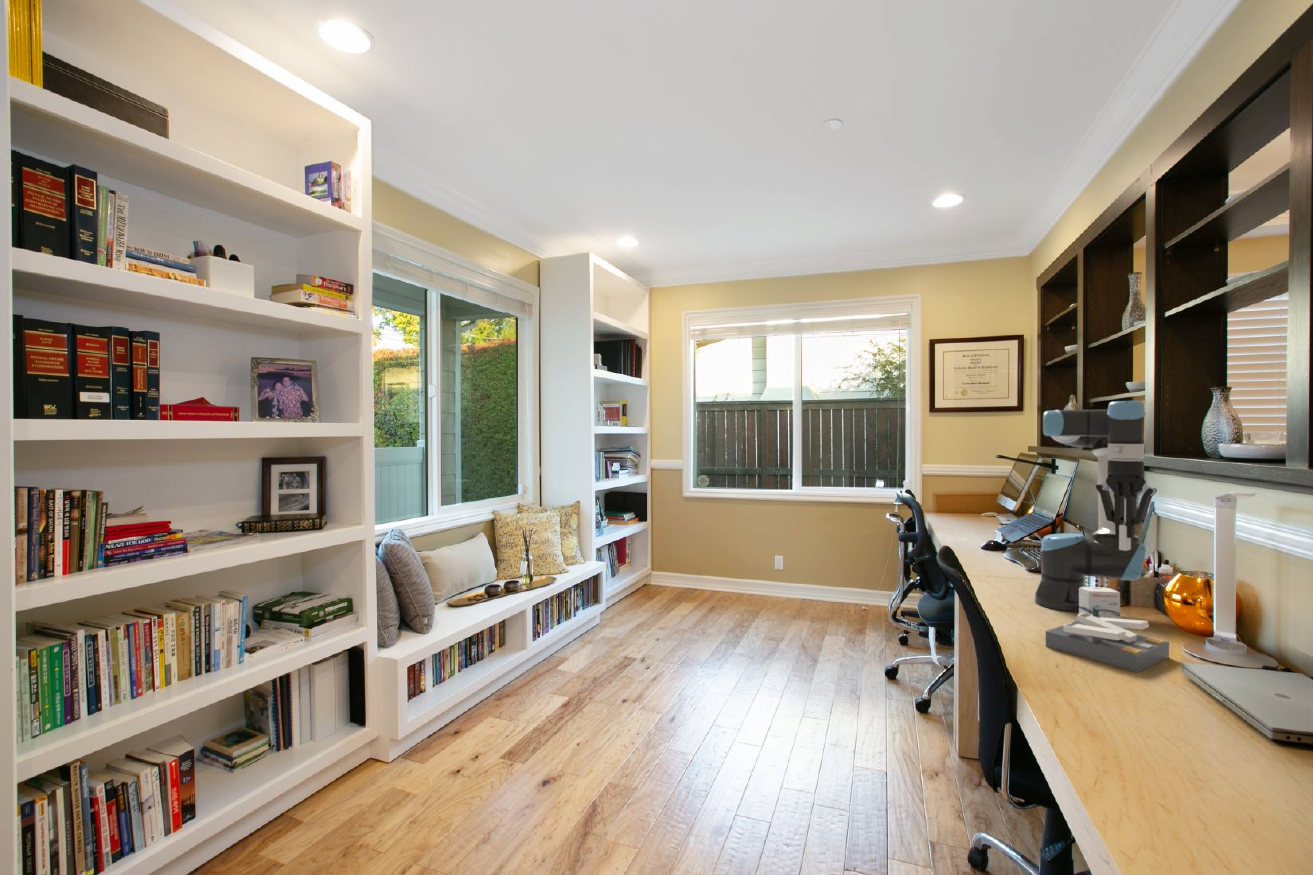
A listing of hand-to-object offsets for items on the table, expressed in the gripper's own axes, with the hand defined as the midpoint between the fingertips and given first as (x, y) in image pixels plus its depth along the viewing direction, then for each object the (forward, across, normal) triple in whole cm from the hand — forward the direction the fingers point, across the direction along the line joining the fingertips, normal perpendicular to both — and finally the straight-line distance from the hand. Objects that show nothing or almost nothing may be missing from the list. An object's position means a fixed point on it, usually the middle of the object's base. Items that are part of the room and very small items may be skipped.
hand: (1124, 549), depth 156 cm
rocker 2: (+19, -1, -8) cm, 21 cm away
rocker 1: (+19, 0, -15) cm, 24 cm away
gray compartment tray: (+26, 0, -8) cm, 27 cm away
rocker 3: (+19, -1, -2) cm, 20 cm away
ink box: (+26, -10, +9) cm, 30 cm away
